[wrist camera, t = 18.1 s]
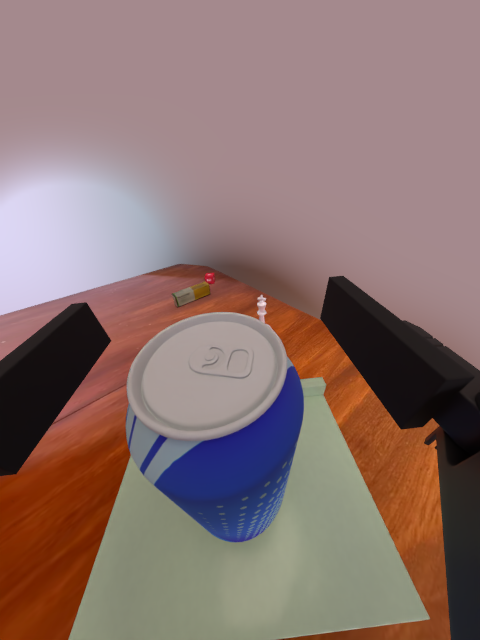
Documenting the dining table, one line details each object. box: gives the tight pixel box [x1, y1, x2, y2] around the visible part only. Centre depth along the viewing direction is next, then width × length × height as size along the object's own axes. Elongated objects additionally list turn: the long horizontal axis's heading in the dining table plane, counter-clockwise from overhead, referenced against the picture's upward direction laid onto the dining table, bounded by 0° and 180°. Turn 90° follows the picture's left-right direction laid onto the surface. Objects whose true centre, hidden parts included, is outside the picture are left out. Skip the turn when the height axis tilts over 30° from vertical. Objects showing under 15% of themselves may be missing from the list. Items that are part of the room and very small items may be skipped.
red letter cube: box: [205, 273, 215, 284], centre depth 71 cm, size 3×3×3 cm
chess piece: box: [257, 295, 272, 329], centre depth 43 cm, size 5×5×10 cm
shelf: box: [69, 377, 430, 640], centre depth 19 cm, size 16×22×10 cm
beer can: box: [126, 312, 304, 542], centre depth 13 cm, size 8×8×16 cm
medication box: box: [172, 282, 210, 307], centre depth 61 cm, size 12×3×4 cm, turn 128°
